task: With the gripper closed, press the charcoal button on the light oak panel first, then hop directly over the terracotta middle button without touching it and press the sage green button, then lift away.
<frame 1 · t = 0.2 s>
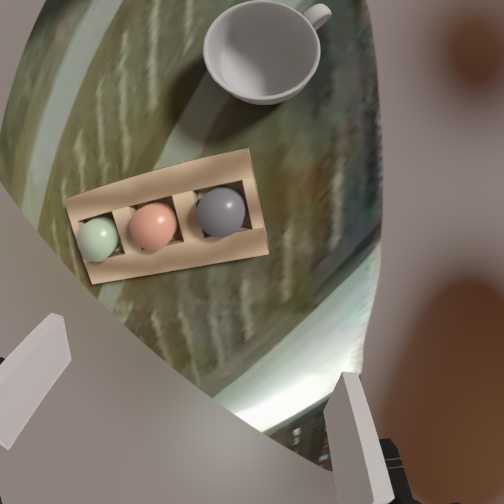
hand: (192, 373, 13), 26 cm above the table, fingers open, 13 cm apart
teacup: (274, 59, 30), on the table
charcoal button: (221, 211, 33), point 4 cm above the table, slide at 0.0 cm
button panel: (163, 217, 37), on the table
terracotta button: (154, 225, 34), point 3 cm above the table, slide at 0.0 cm
sage button: (98, 238, 35), point 3 cm above the table, slide at 0.0 cm
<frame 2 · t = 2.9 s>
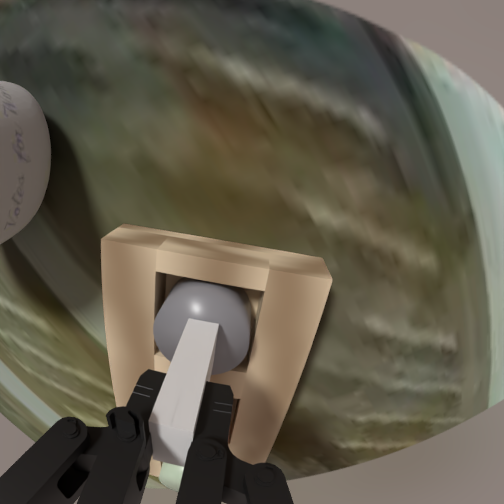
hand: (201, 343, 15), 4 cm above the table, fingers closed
teacup: (16, 137, 16), on the table
charcoal button: (204, 323, 17), point 3 cm above the table, slide at 0.9 cm, touching gripper
button panel: (201, 388, 22), on the table
terracotta button: (193, 422, 19), point 3 cm above the table, slide at 0.0 cm
sage button: (190, 471, 21), point 4 cm above the table, slide at 0.0 cm
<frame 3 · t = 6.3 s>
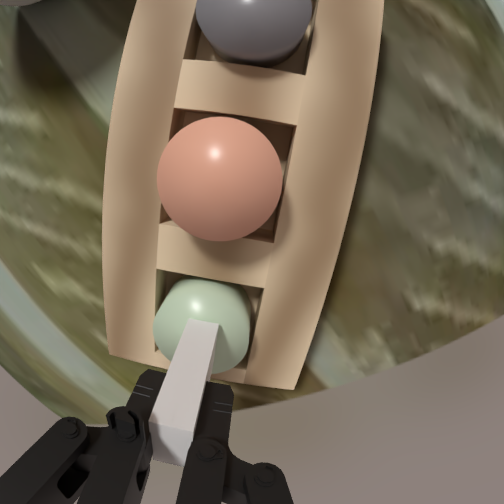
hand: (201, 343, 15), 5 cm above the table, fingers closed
charcoal button: (254, 16, 11), point 3 cm above the table, slide at 1.0 cm
button panel: (230, 168, 16), on the table
terracotta button: (222, 176, 13), point 3 cm above the table, slide at 0.0 cm
sage button: (204, 322, 17), point 3 cm above the table, slide at 0.7 cm, touching gripper
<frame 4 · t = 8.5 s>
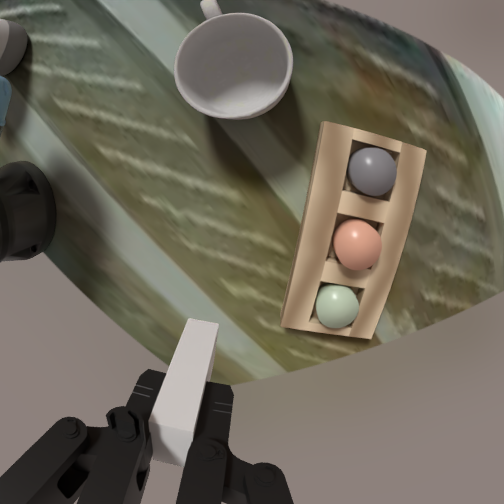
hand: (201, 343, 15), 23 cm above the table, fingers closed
teacup: (239, 67, 30), on the table
smart speaker: (15, 52, 29), on the table
charcoal button: (370, 170, 31), point 3 cm above the table, slide at 1.0 cm
button panel: (349, 234, 36), on the table
terracotta button: (356, 243, 32), point 3 cm above the table, slide at 0.0 cm
sage button: (336, 304, 36), point 3 cm above the table, slide at 1.0 cm
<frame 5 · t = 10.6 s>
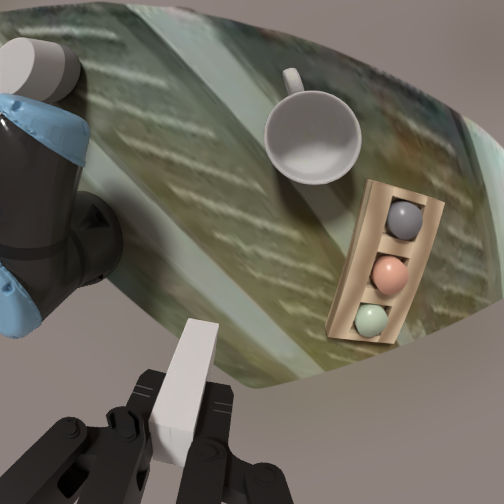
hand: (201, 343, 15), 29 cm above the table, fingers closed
teacup: (303, 126, 38), on the table
smart speaker: (64, 76, 36), on the table
charcoal button: (403, 219, 39), point 3 cm above the table, slide at 1.0 cm
button panel: (381, 265, 44), on the table
terracotta button: (389, 274, 41), point 3 cm above the table, slide at 0.0 cm
sage button: (370, 318, 45), point 3 cm above the table, slide at 1.0 cm
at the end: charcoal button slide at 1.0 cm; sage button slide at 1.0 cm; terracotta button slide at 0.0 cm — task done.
